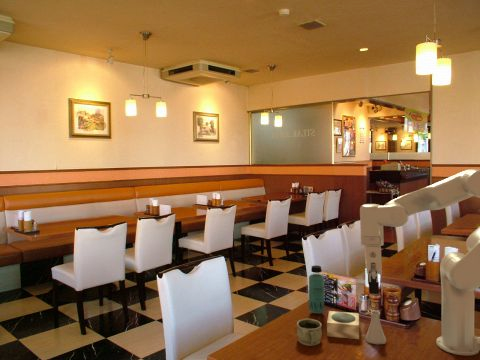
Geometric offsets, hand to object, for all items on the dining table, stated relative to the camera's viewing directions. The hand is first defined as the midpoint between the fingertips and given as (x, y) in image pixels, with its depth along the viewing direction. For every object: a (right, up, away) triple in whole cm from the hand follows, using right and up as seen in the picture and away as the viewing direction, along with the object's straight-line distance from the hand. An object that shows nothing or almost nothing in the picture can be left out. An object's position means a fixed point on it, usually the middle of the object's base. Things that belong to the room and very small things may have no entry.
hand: (373, 288), depth 138 cm
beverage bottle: (-15, -18, +25) cm, 34 cm away
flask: (+1, -19, +1) cm, 19 cm away
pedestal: (-8, -18, +9) cm, 22 cm away
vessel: (-22, -19, +2) cm, 29 cm away
